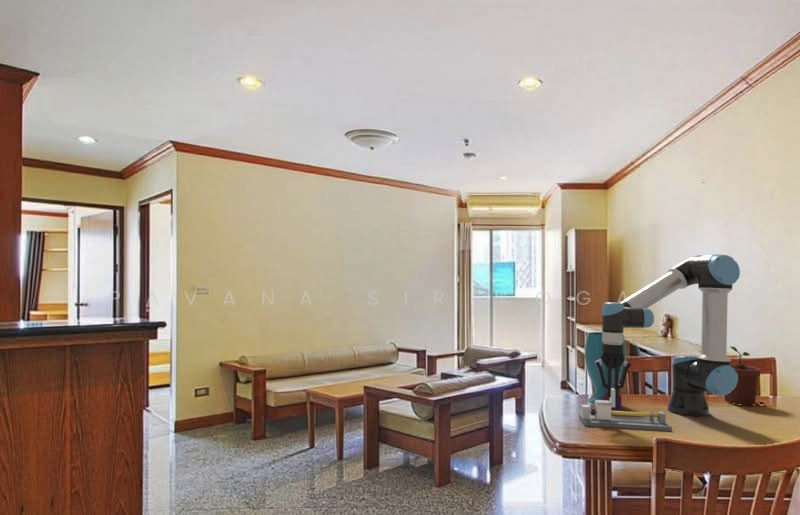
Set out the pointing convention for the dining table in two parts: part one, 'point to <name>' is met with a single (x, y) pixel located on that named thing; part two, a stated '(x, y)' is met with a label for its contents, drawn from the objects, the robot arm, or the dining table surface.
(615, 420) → the linear slide mechanism
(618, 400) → the mug
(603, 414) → the sleeve
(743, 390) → the potted plant
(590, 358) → the vase
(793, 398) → the dining table surface
